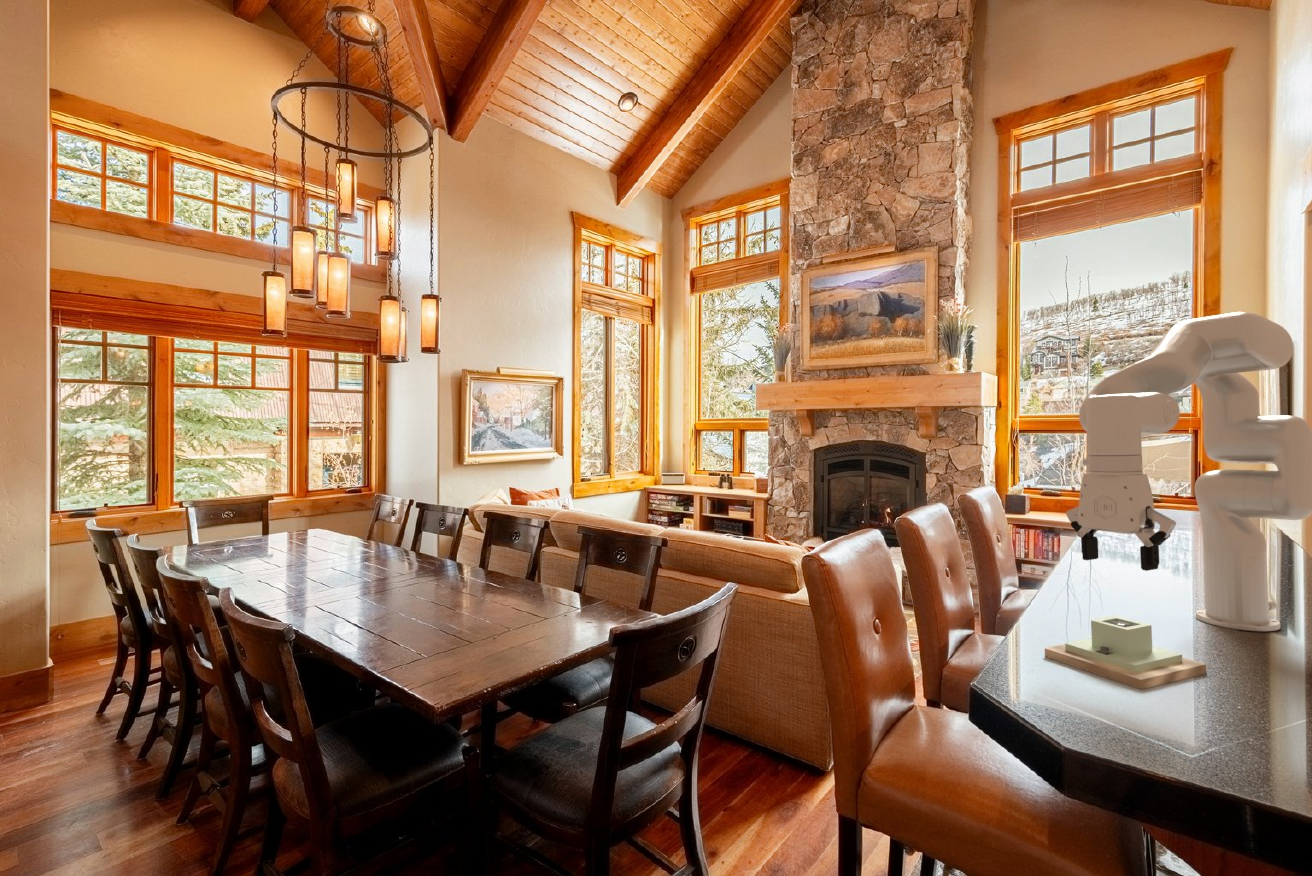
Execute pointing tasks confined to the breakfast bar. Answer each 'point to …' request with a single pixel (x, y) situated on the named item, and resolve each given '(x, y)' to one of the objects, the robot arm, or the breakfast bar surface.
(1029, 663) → the breakfast bar surface
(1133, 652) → the flange
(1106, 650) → the pins
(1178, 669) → the base
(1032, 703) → the breakfast bar surface
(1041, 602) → the breakfast bar surface
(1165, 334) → the robot arm
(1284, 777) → the breakfast bar surface
